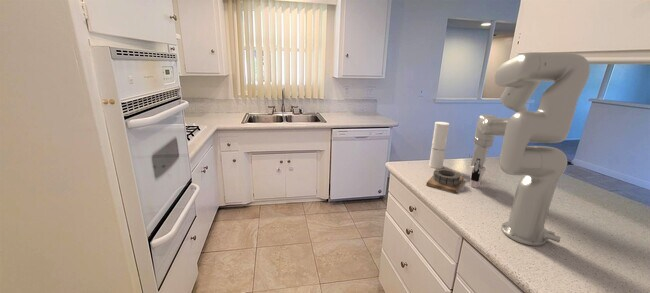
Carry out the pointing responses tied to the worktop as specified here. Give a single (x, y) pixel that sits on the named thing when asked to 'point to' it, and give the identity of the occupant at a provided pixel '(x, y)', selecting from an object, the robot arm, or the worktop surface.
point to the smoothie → (475, 183)
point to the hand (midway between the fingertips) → (475, 177)
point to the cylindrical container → (439, 144)
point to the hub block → (445, 180)
